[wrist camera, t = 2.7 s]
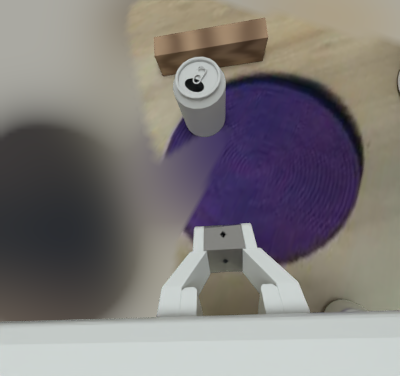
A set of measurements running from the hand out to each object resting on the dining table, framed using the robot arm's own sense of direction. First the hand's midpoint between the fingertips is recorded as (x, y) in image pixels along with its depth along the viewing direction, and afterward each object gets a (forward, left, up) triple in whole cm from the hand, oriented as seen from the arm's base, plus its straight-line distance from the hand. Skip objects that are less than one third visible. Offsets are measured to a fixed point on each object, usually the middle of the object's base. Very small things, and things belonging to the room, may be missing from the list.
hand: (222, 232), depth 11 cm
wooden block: (0, -33, -24) cm, 41 cm away
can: (+2, -20, -24) cm, 31 cm away
